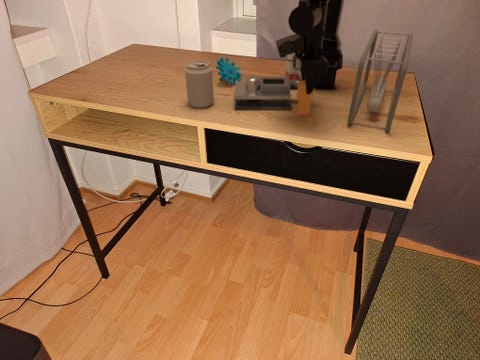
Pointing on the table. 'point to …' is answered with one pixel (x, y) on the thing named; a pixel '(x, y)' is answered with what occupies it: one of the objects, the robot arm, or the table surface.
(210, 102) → the can
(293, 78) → the ink box
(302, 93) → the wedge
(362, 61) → the newton's cradle
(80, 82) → the table surface
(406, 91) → the table surface
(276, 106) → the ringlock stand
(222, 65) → the gear
